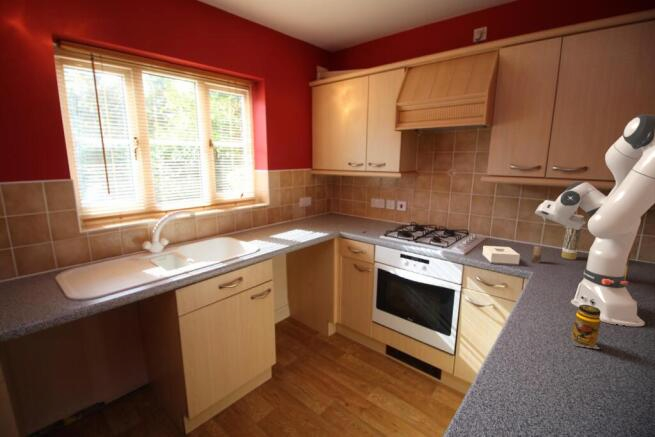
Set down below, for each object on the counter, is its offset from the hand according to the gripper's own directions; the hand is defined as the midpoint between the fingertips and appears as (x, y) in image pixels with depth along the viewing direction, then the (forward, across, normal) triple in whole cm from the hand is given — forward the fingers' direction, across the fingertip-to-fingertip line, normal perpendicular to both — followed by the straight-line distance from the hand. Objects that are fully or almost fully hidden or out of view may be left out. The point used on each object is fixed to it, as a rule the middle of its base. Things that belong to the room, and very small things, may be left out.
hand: (555, 222), depth 164 cm
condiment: (-53, -22, +58) cm, 82 cm away
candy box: (+7, -31, +14) cm, 35 cm away
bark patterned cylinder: (+30, -14, +4) cm, 34 cm away
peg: (+15, -1, +19) cm, 24 cm away
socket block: (+10, +14, +28) cm, 33 cm away
